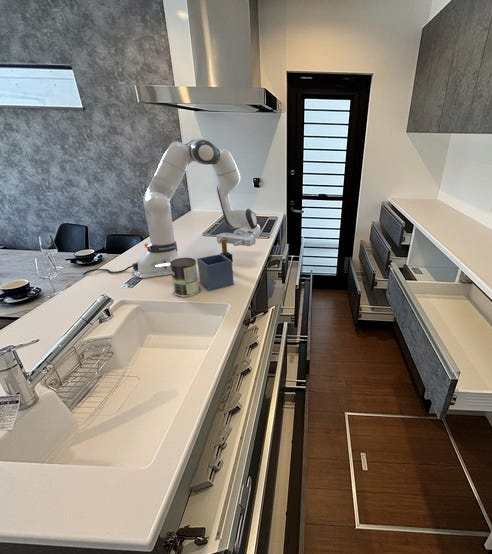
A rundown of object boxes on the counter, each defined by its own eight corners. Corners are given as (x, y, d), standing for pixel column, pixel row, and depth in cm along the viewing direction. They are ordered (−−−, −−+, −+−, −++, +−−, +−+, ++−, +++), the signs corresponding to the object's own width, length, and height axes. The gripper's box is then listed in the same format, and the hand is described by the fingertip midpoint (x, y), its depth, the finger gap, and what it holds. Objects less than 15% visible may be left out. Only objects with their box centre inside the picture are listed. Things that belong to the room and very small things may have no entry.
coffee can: (174, 298, 127) (169, 267, 121) (174, 288, 136) (170, 258, 130) (200, 295, 130) (196, 264, 125) (199, 285, 139) (195, 256, 134)
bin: (209, 290, 134) (206, 266, 130) (199, 282, 143) (197, 258, 138) (233, 284, 141) (231, 260, 137) (223, 276, 149) (220, 253, 145)
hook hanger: (221, 271, 156) (218, 239, 149) (228, 269, 158) (225, 237, 151) (226, 274, 151) (223, 242, 145) (233, 273, 154) (231, 240, 147)
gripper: (224, 228, 166) (208, 234, 154) (257, 233, 160) (243, 239, 148) (225, 239, 169) (210, 246, 157) (258, 244, 162) (244, 251, 150)
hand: (226, 243), depth 152 cm, fingers open, 8 cm apart
